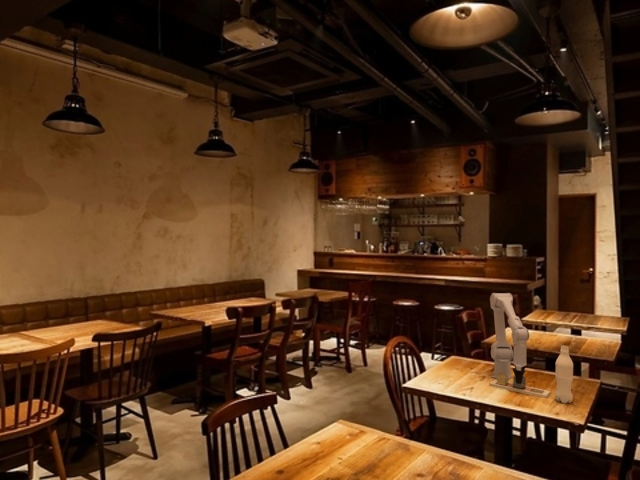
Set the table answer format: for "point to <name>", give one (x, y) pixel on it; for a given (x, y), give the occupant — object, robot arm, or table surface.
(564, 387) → the water bottle
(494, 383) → the beige rectangular frame
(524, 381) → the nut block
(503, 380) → the brass block
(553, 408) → the table surface
